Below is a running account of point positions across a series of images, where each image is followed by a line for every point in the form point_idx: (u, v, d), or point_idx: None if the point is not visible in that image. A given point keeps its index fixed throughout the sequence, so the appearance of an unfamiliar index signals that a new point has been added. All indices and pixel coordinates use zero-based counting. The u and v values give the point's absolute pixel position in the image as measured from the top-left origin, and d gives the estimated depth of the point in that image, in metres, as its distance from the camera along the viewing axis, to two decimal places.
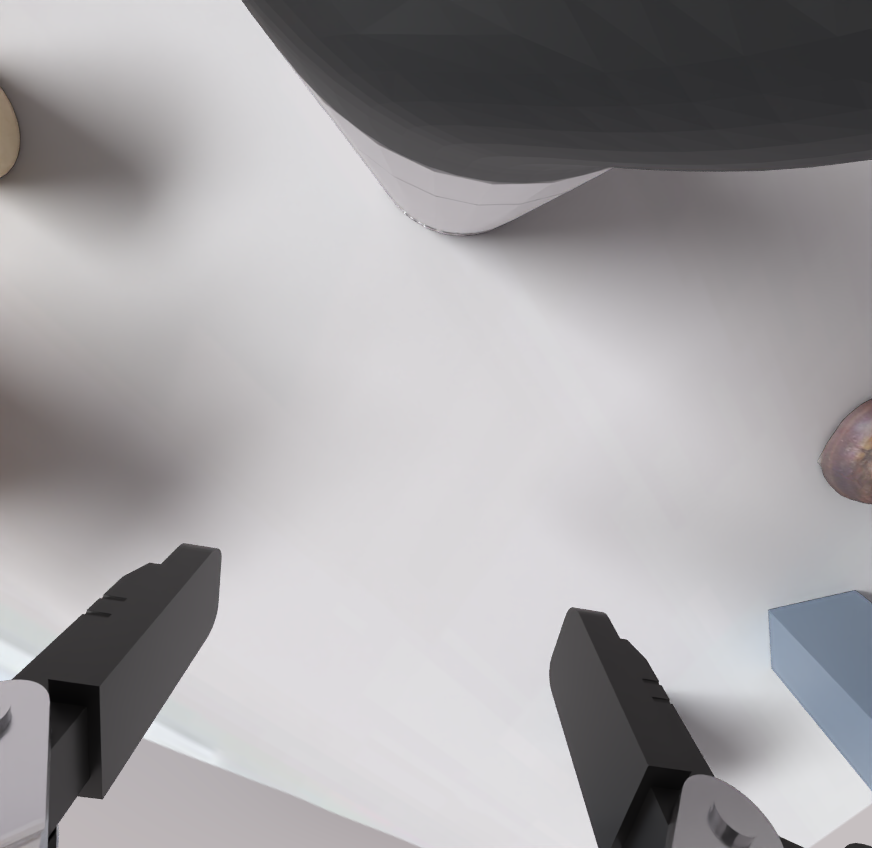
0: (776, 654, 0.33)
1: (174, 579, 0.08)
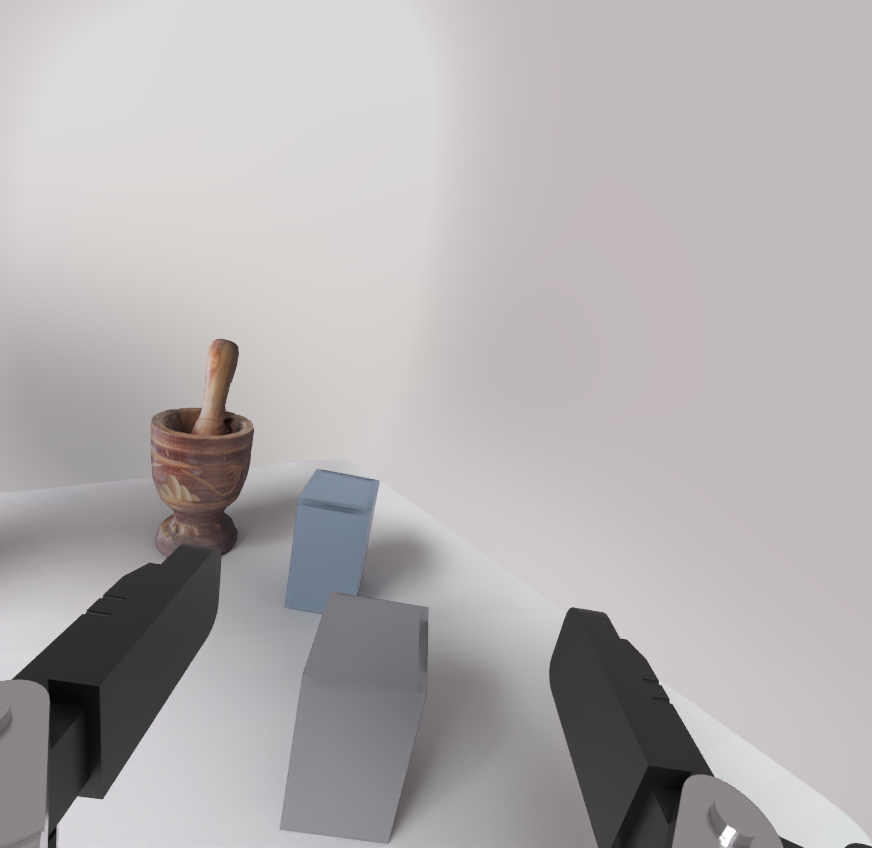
0: None
1: (174, 579, 0.08)
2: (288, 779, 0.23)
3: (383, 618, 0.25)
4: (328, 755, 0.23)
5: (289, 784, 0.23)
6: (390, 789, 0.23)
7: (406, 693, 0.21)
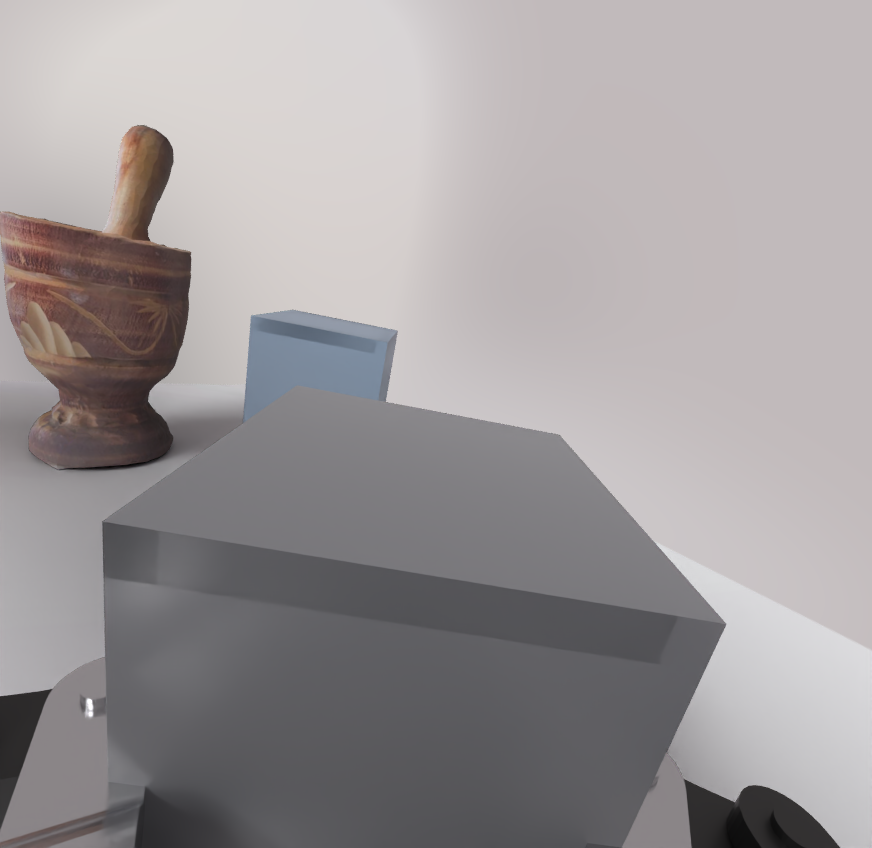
0: None
1: None
2: None
3: (450, 435, 0.09)
4: None
5: None
6: None
7: (629, 623, 0.04)
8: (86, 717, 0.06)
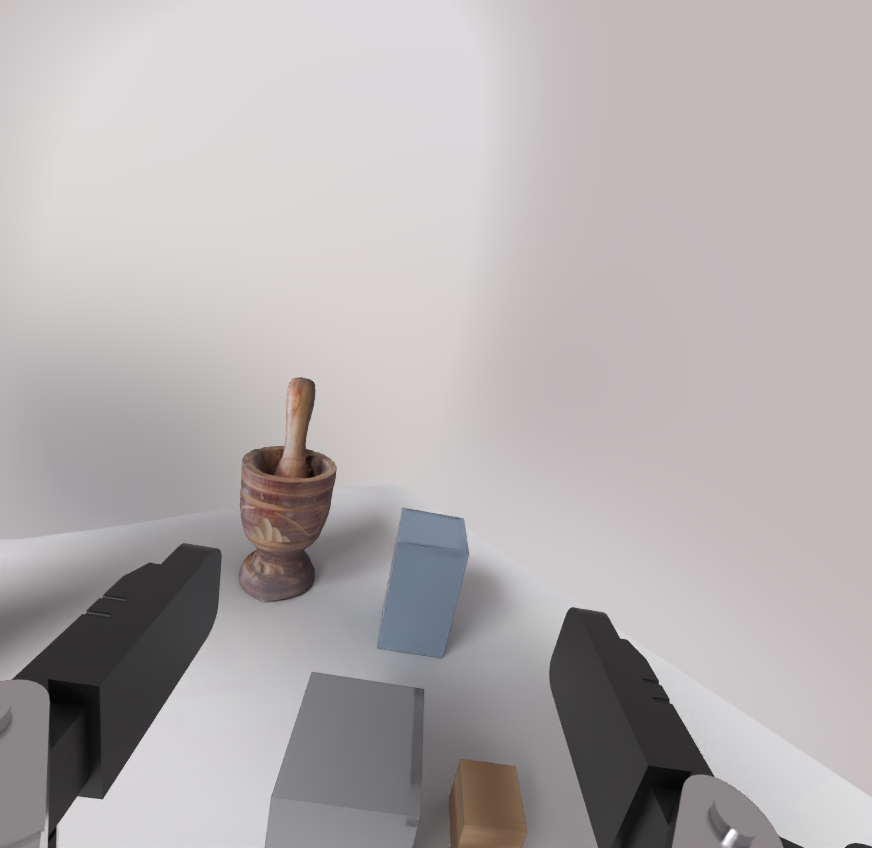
0: (419, 648, 0.40)
1: (174, 579, 0.08)
2: None
3: (371, 707, 0.22)
4: None
5: None
6: None
7: (396, 817, 0.18)
8: None
